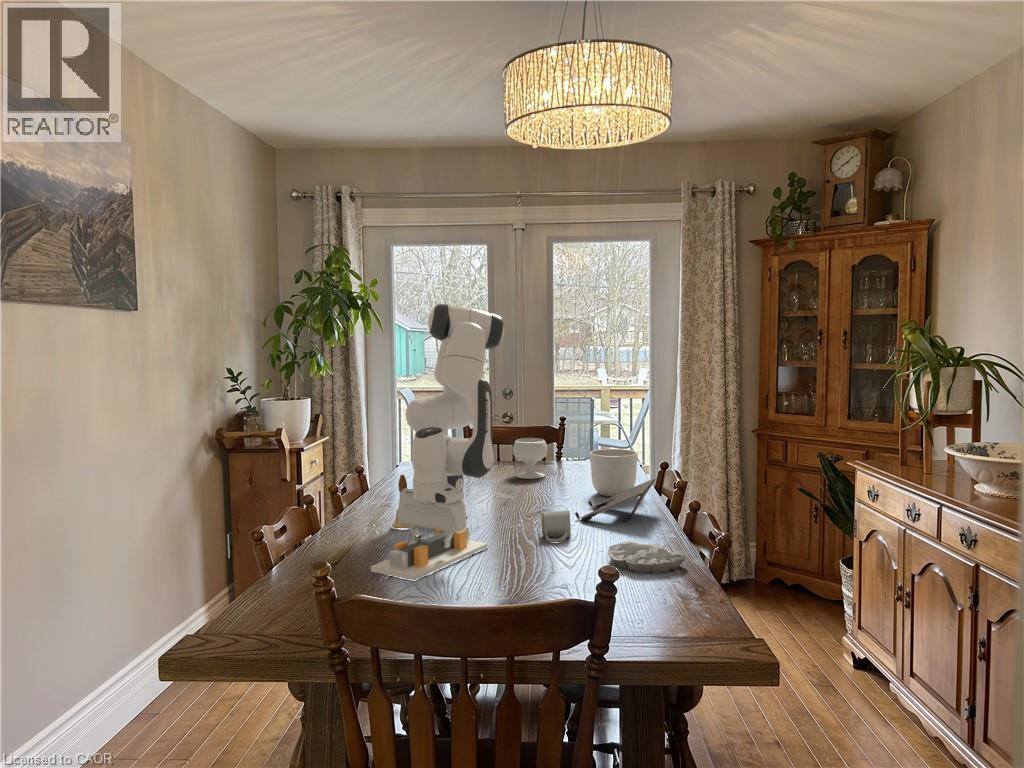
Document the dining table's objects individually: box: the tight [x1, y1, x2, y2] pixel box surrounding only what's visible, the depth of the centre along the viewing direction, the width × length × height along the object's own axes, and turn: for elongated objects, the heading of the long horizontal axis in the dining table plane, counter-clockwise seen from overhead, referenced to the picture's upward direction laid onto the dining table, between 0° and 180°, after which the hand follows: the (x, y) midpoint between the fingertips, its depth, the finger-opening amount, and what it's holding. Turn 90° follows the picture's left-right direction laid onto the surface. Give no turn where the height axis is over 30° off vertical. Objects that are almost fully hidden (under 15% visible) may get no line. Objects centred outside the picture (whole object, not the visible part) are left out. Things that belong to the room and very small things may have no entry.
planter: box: [589, 448, 639, 498], centre depth 255 cm, size 17×17×15 cm
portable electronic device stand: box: [574, 478, 656, 522], centre depth 224 cm, size 23×23×9 cm
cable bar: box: [389, 526, 470, 571], centre depth 184 cm, size 4×27×4 cm, turn 147°
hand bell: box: [391, 474, 409, 528], centre depth 216 cm, size 8×8×16 cm
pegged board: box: [370, 529, 488, 580], centre depth 184 cm, size 14×30×6 cm, turn 147°
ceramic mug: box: [541, 509, 572, 543], centre depth 202 cm, size 11×8×8 cm
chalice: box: [512, 437, 548, 480], centre depth 289 cm, size 14×14×15 cm
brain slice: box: [607, 541, 686, 574], centre depth 178 cm, size 20×17×3 cm
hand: (431, 544), depth 184 cm, fingers open, 8 cm apart
